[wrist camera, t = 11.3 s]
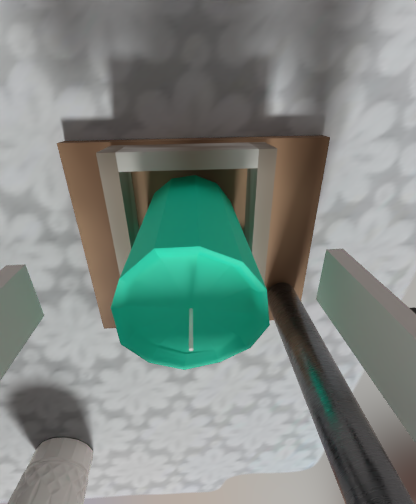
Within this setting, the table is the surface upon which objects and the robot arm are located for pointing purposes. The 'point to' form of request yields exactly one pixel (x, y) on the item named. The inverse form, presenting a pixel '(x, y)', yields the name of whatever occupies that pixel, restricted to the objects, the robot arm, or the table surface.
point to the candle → (190, 280)
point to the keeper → (334, 408)
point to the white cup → (55, 474)
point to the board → (208, 167)
